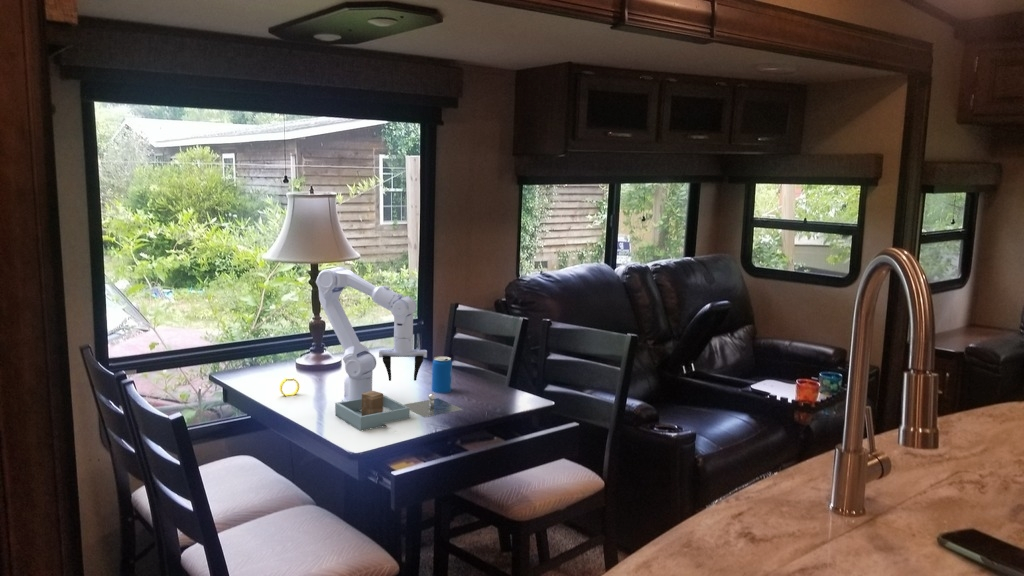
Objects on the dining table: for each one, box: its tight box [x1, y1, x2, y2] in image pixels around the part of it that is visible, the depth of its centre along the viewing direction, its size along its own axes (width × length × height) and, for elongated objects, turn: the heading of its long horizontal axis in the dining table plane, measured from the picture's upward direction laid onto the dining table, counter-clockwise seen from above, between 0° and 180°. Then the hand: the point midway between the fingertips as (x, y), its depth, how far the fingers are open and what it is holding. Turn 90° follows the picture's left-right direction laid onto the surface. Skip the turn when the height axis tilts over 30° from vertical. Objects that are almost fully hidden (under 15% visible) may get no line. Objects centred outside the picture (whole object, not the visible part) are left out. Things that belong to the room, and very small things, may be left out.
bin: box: [334, 394, 411, 432], centre depth 219 cm, size 16×16×4 cm
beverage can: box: [431, 355, 453, 394], centre depth 247 cm, size 6×6×12 cm
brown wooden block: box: [361, 390, 384, 416], centre depth 218 cm, size 4×4×7 cm
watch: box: [279, 376, 300, 397], centre depth 238 cm, size 6×3×6 cm, turn 123°
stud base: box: [403, 393, 464, 418], centre depth 228 cm, size 14×14×5 cm
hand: (402, 379), depth 227 cm, fingers open, 7 cm apart
